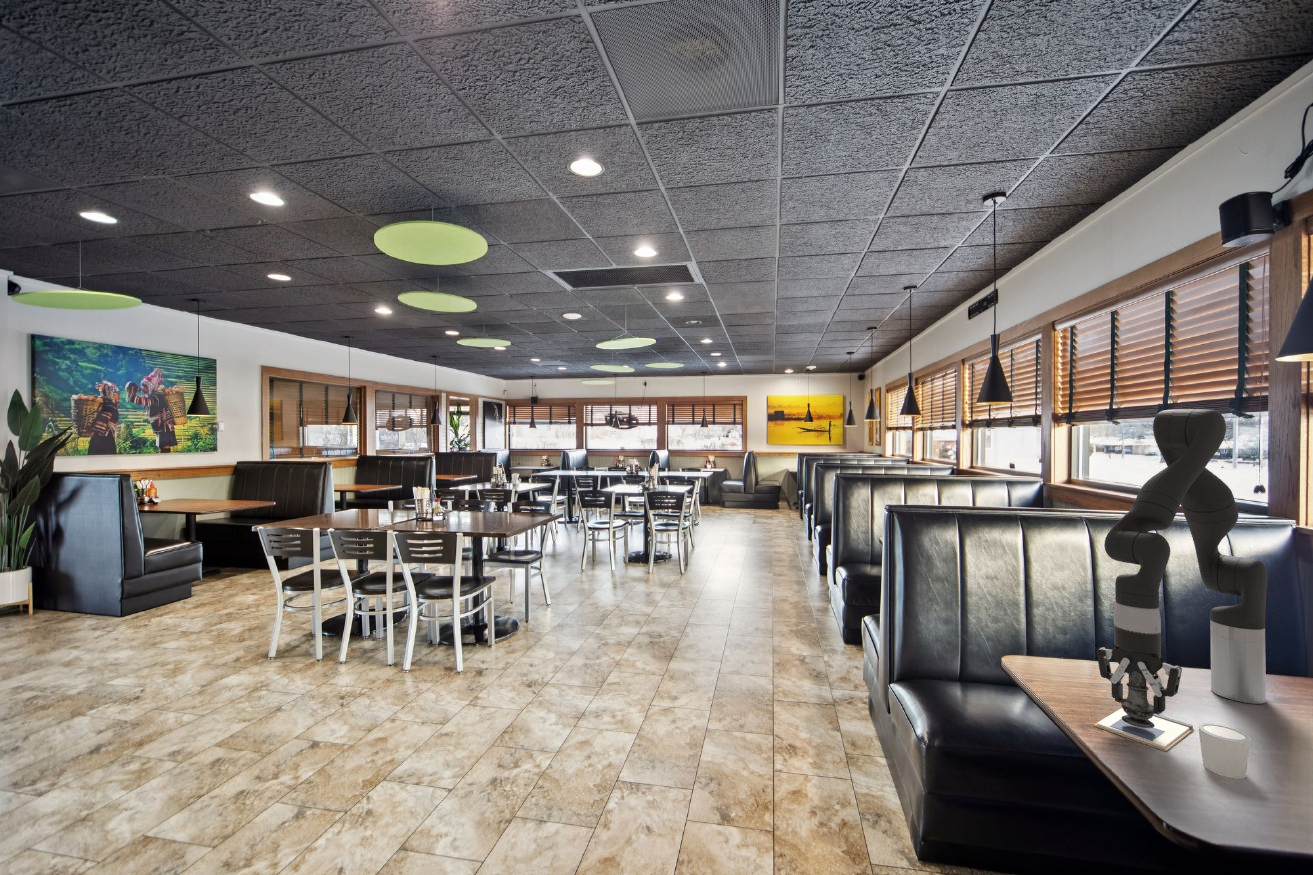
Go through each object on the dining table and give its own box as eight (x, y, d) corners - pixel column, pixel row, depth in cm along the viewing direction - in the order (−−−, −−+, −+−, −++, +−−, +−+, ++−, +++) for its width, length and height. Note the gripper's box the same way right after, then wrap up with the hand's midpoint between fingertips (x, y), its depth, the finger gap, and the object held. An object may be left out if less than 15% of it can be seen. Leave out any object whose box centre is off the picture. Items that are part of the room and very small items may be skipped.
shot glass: (1242, 784, 101) (1241, 744, 101) (1191, 765, 107) (1191, 727, 107) (1257, 774, 104) (1257, 735, 104) (1207, 756, 110) (1207, 719, 110)
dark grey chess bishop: (1163, 730, 116) (1163, 670, 116) (1130, 727, 117) (1130, 668, 117) (1144, 716, 121) (1144, 660, 122) (1113, 714, 123) (1113, 657, 123)
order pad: (1124, 707, 130) (1124, 703, 130) (1194, 730, 120) (1194, 725, 120) (1093, 726, 122) (1093, 721, 122) (1166, 751, 112) (1166, 746, 112)
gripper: (1188, 632, 115) (1189, 716, 115) (1103, 614, 128) (1103, 690, 127) (1175, 639, 111) (1176, 726, 111) (1088, 620, 123) (1089, 698, 123)
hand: (1137, 706), depth 119 cm, fingers closed on dark grey chess bishop, 6 cm apart
